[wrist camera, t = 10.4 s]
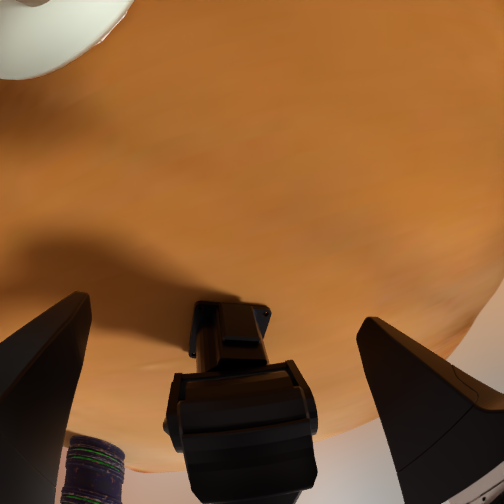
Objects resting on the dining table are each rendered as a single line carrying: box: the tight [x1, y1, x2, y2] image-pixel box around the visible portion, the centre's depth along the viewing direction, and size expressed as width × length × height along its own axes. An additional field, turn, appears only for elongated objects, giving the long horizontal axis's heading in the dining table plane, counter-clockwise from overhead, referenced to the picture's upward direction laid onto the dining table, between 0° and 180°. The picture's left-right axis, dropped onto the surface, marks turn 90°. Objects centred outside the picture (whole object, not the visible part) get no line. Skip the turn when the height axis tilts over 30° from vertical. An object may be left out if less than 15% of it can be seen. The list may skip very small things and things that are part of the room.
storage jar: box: [60, 436, 125, 504], centre depth 28 cm, size 10×10×15 cm
